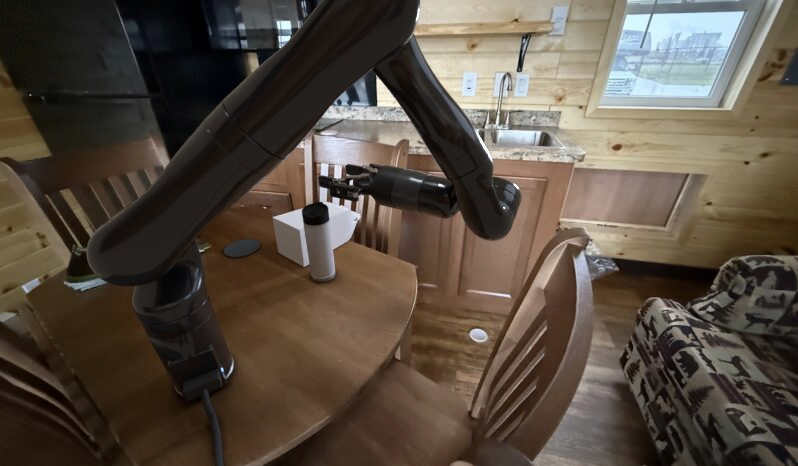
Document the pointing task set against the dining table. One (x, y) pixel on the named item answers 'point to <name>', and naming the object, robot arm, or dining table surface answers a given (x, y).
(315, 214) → the travel mug
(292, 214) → the white box
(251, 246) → the coaster
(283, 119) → the robot arm
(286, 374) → the dining table surface
